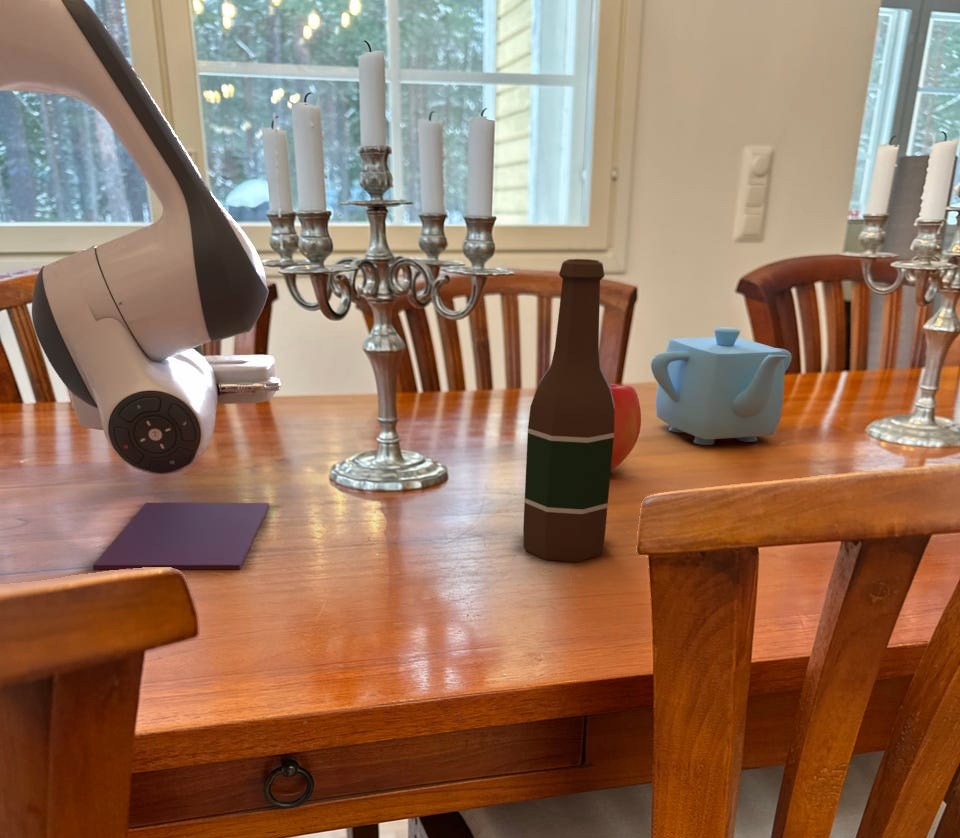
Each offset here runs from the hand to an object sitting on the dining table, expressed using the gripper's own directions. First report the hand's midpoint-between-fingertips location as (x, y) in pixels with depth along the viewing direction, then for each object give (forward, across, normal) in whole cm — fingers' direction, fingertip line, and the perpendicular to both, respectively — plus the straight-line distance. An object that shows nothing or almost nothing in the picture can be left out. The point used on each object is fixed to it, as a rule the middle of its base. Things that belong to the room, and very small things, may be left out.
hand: (178, 364), depth 96 cm
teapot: (+2, -66, +11) cm, 67 cm away
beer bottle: (-32, -34, +11) cm, 48 cm away
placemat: (-23, -1, +11) cm, 26 cm away
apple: (-10, -45, +11) cm, 47 cm away
